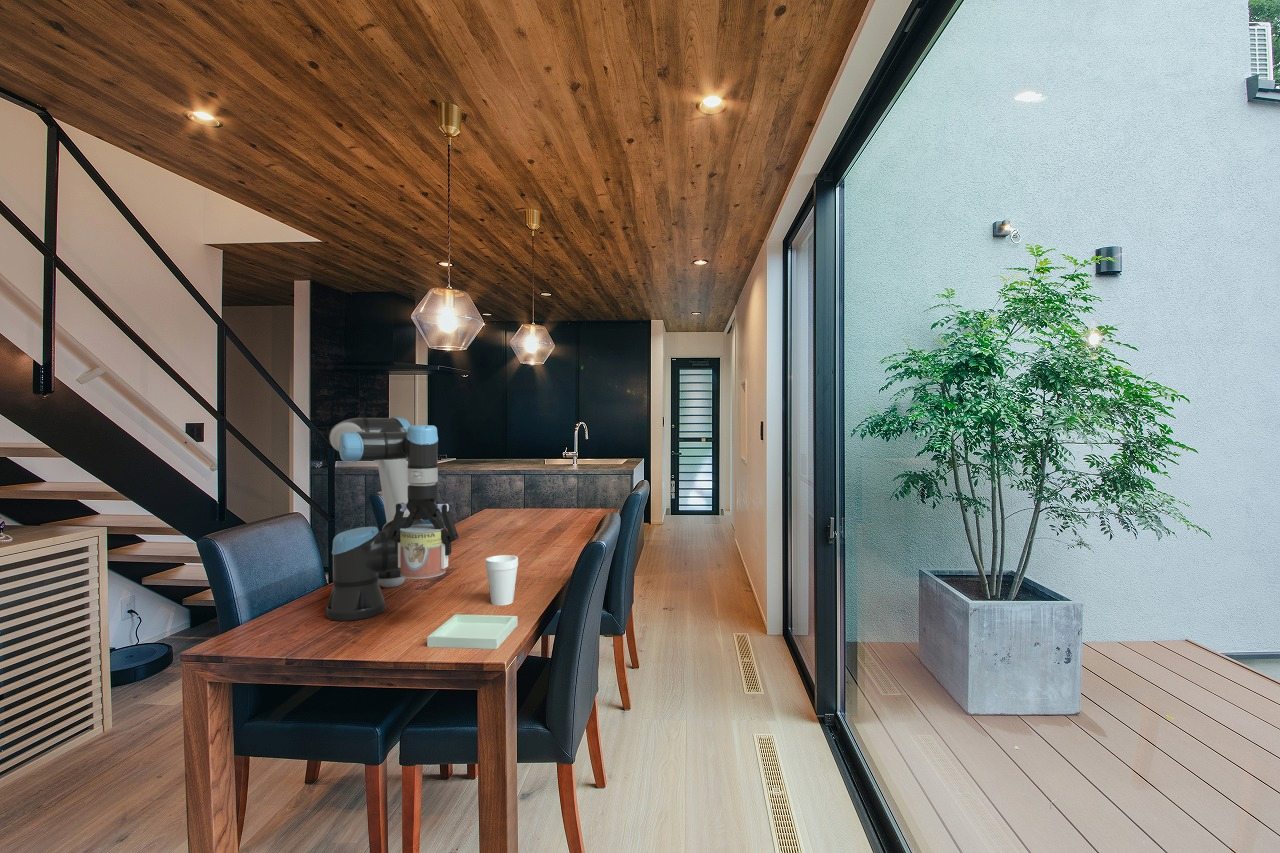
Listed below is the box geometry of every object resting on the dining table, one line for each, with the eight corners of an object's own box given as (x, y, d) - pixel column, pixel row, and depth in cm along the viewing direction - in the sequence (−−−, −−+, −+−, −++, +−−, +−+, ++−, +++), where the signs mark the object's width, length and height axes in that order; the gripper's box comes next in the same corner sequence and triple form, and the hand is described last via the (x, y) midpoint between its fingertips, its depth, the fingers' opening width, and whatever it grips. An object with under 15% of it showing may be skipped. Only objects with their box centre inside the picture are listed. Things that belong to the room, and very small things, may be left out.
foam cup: (499, 609, 177) (499, 563, 177) (479, 603, 182) (478, 559, 182) (525, 601, 184) (524, 557, 184) (504, 595, 190) (504, 553, 190)
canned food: (392, 578, 158) (392, 531, 157) (411, 567, 169) (410, 523, 169) (436, 579, 157) (435, 532, 157) (451, 568, 168) (451, 524, 168)
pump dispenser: (401, 589, 197) (400, 542, 197) (369, 589, 197) (368, 542, 197) (413, 581, 207) (413, 536, 207) (382, 581, 208) (382, 536, 207)
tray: (427, 646, 148) (427, 636, 148) (455, 623, 165) (455, 614, 165) (496, 649, 146) (496, 639, 146) (517, 625, 163) (517, 616, 163)
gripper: (372, 484, 160) (373, 569, 160) (460, 486, 158) (460, 571, 158) (387, 481, 167) (387, 562, 168) (471, 482, 165) (471, 564, 166)
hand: (423, 566), depth 163 cm, fingers closed on canned food, 11 cm apart
